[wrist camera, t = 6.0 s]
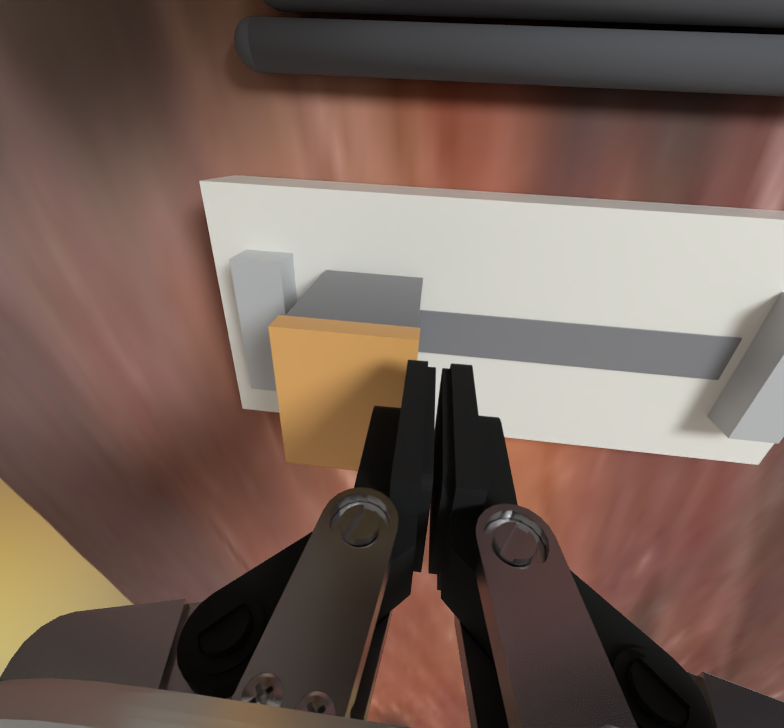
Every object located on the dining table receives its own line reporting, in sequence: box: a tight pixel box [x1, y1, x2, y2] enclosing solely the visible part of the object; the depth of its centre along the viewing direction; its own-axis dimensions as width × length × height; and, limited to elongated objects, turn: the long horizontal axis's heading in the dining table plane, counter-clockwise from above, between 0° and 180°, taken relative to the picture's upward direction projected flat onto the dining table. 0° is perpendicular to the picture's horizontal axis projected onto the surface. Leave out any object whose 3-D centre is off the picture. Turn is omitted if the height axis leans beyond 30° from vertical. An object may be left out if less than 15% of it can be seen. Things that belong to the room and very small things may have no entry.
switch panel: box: [199, 175, 784, 465], centre depth 17 cm, size 11×26×4 cm, turn 87°
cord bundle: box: [234, 0, 784, 96], centre depth 13 cm, size 3×25×2 cm, turn 87°
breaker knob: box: [268, 270, 423, 471], centre depth 14 cm, size 5×4×6 cm
